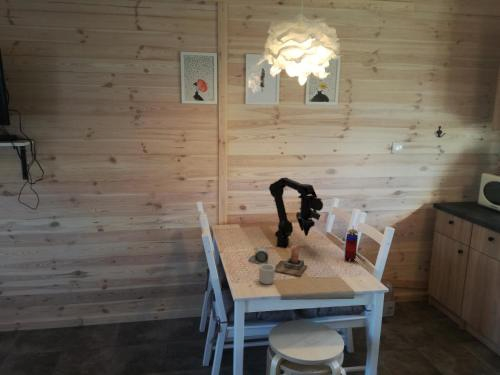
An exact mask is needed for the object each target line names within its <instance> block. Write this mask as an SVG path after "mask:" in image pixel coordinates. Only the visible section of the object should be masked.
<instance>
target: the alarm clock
mask: <svg viewBox="0 0 500 375" xmlns="http://www.w3.org/2000/svg"><path fill="white" fill-rule="evenodd" d="M354 227H355V226H354V225H352V228H351V229H348V230H347V233H346V236H345V237H342V241H343V242H345V243H341V245H345V246H344V247H342V249H343V250H344V259H348V262H349V263H351V260H356V258H357V249H358V239H359V235H358V234H359V231H357V230H356V229H354Z"/></svg>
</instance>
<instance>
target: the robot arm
mask: <svg viewBox="0 0 500 375" xmlns="http://www.w3.org/2000/svg"><path fill="white" fill-rule="evenodd" d="M286 187H287V188H289V189H293V190H294V191H297V193H298V194H299V196H298V199H300V207H299V210H300V211H298V212H296V213H295V217H296V220H297V222H298V225H299V228H300V231H301V232H303V233H304V236H305V237H306V236H308V235H309V233H310V232H309V231H310V229H311V228H313V227H314V226H315V221H314V220H313V219H315V220H317V221H319V220H320V218H321V214H320V213H319V212H320V211H322V210H323V208H324V203H323V200H322V198H321V197H320V198H318V195H317V192H316V191H315V189H314V186H313V184H309V183H308V184H307V183H300V182H298V181H295V180H293V179H290V178H289V177H281V178H279V179H278V180H276V181H275V182H273V183H271V184H270V185H269V187H268V190H269V193H270V195H271V196H272V198H273V199H274V203H275V208H276V211H277V217H278V221H279V222H278V224H277V228H278V230H277V231H276V232H274V237H276V246H275V247H277V248H283V249H286V248H288V247H289V246H290V238H289V237H291V235H292V233H293V231H294V227H293V223H292V221H290V220H289V219H288V216H287V212H286V206H285V203H284V198H283V196H284V191H285V190H284V189H285V188H286Z"/></svg>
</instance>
